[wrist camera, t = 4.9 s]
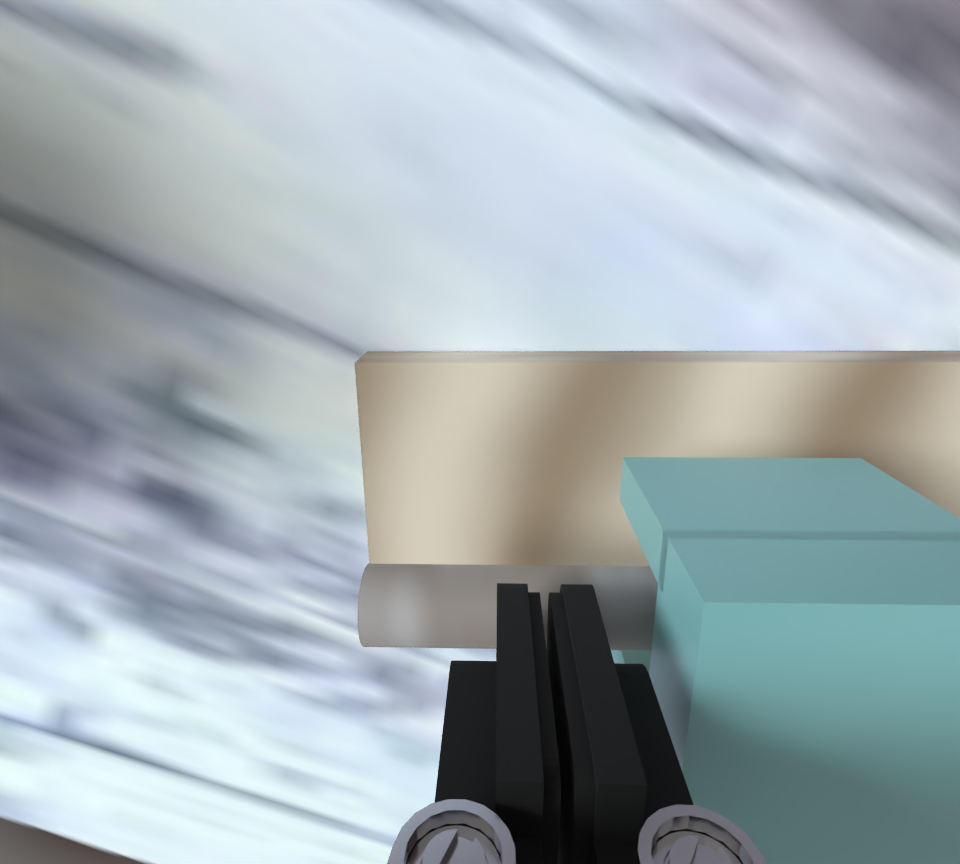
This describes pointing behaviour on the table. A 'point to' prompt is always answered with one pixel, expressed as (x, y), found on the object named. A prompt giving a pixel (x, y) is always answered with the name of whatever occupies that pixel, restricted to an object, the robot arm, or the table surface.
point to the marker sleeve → (806, 652)
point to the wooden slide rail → (599, 465)
